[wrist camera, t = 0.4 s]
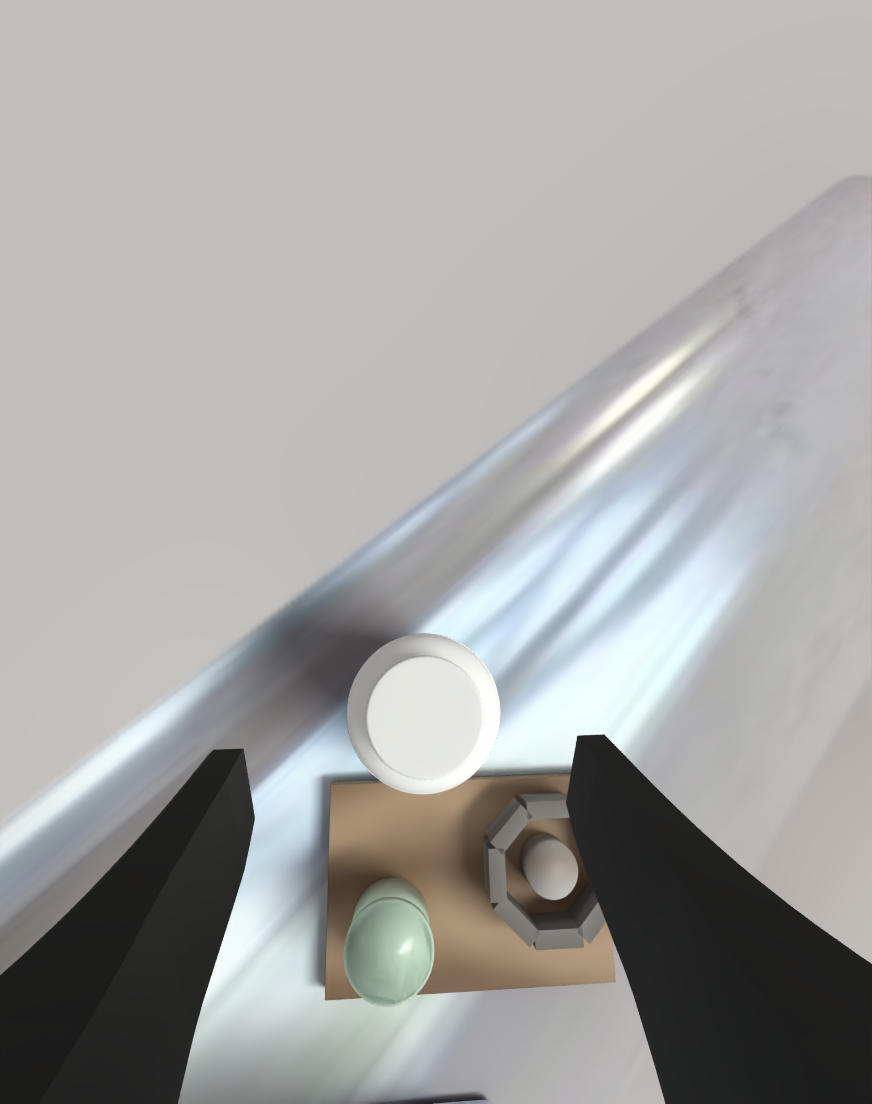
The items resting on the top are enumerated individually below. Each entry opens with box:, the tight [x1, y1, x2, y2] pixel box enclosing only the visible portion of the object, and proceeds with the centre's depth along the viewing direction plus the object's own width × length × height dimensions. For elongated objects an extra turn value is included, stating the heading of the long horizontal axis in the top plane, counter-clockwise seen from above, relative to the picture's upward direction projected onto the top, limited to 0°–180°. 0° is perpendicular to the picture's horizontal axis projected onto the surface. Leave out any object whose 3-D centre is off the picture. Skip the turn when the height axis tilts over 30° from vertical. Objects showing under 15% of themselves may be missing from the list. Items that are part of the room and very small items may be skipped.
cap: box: [344, 877, 434, 1007], centre depth 30 cm, size 5×5×4 cm
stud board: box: [325, 773, 616, 1000], centre depth 32 cm, size 12×18×4 cm, turn 92°
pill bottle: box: [347, 633, 500, 794], centre depth 29 cm, size 8×8×15 cm
